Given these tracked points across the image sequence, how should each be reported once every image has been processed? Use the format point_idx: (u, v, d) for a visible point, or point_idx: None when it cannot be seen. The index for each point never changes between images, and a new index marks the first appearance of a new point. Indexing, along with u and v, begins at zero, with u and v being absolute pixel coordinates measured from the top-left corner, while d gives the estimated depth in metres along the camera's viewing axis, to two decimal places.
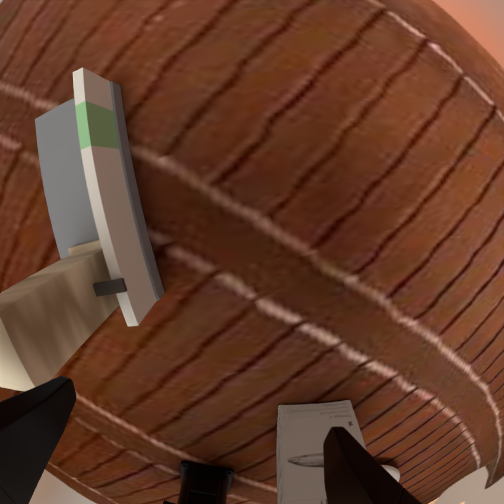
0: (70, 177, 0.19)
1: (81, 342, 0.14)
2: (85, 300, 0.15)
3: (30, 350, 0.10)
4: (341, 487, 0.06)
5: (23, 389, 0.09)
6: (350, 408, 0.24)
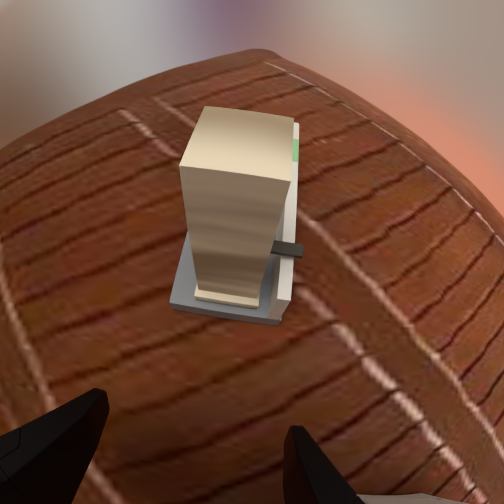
0: None
1: (272, 245, 0.14)
2: None
3: None
4: (295, 489, 0.06)
5: (260, 174, 0.10)
6: (428, 495, 0.14)
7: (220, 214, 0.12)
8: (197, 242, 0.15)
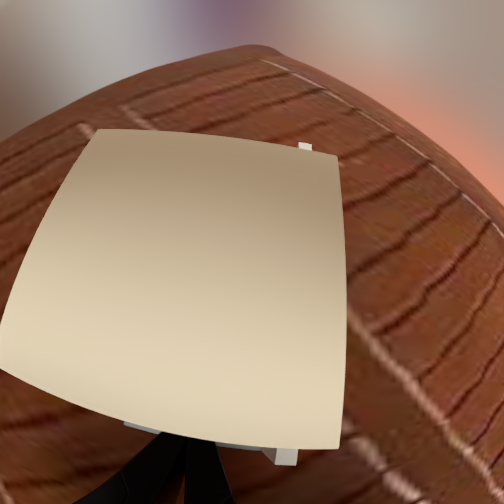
0: None
1: None
2: None
3: None
4: None
5: (226, 432, 0.02)
6: None
7: None
8: None
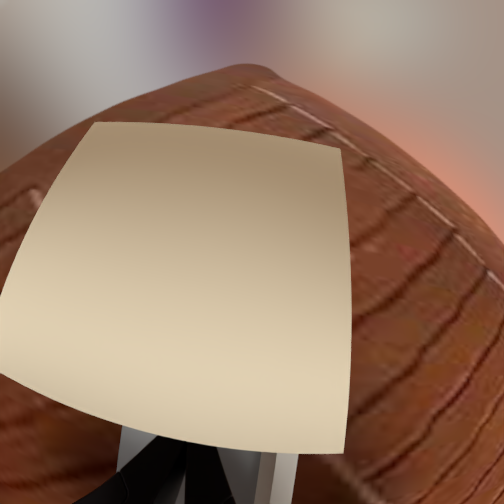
0: None
1: None
2: None
3: None
4: None
5: (225, 436, 0.02)
6: None
7: None
8: None
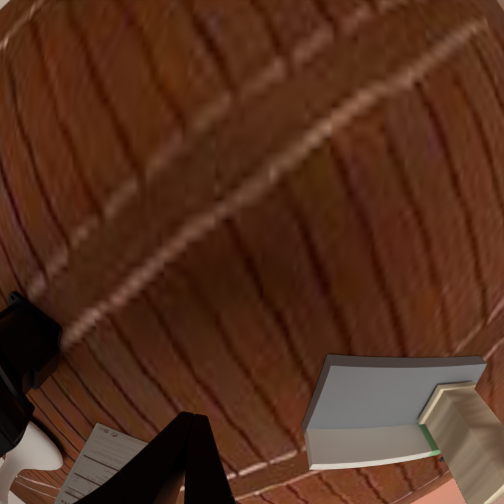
0: (429, 394, 0.21)
1: (453, 474, 0.14)
2: None
3: None
4: None
5: None
6: None
7: (478, 473, 0.11)
8: (473, 440, 0.14)
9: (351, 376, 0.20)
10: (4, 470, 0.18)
